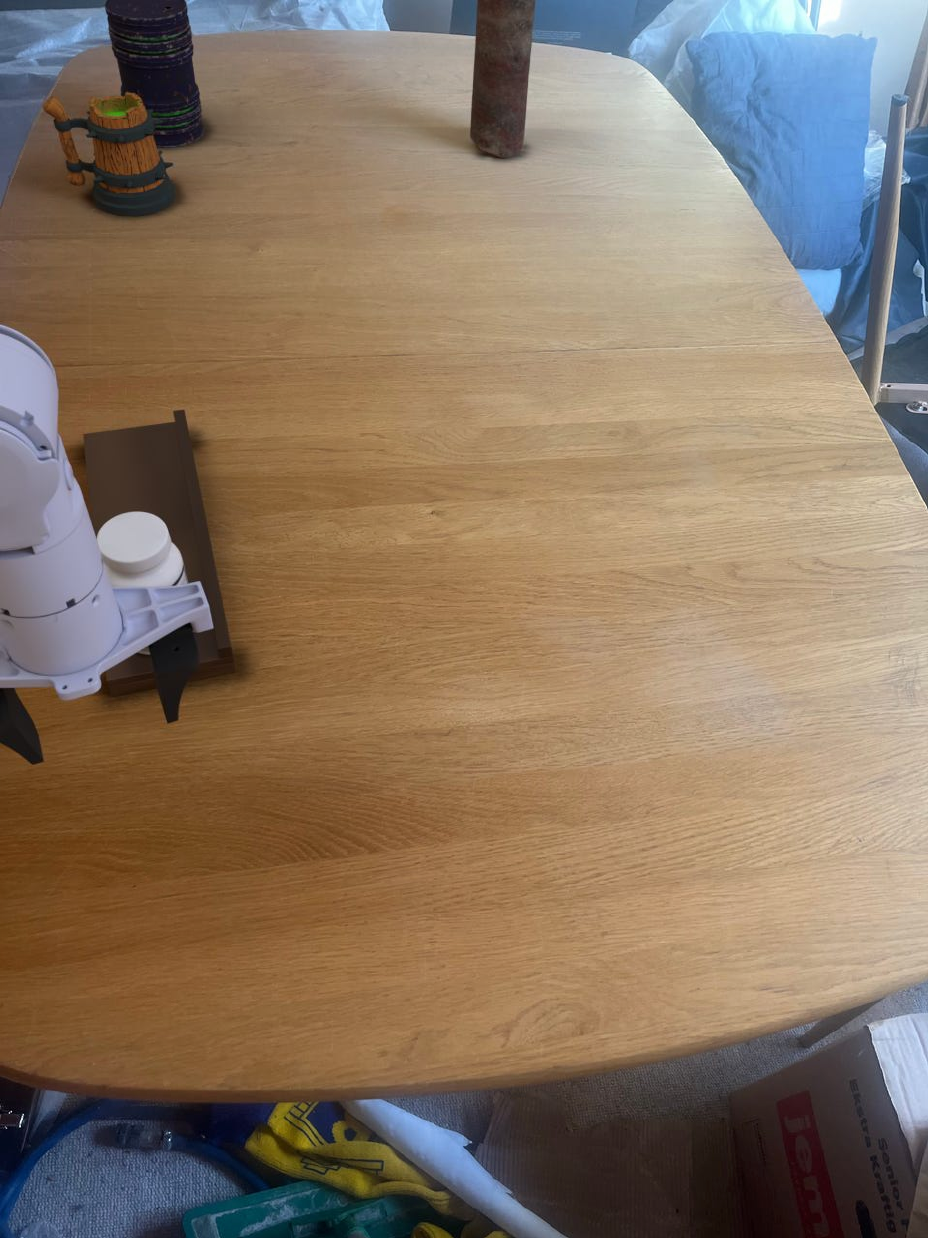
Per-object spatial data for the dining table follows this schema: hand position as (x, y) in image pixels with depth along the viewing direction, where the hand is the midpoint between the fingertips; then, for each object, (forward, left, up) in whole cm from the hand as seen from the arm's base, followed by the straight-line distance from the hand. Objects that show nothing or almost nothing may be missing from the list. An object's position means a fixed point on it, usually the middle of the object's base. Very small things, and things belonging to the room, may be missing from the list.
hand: (103, 729), depth 56 cm
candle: (+66, +83, -11) cm, 107 cm away
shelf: (+7, +24, -10) cm, 27 cm away
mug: (+16, +83, -11) cm, 85 cm away
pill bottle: (+5, +14, -9) cm, 17 cm away
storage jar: (+25, +99, -11) cm, 103 cm away
